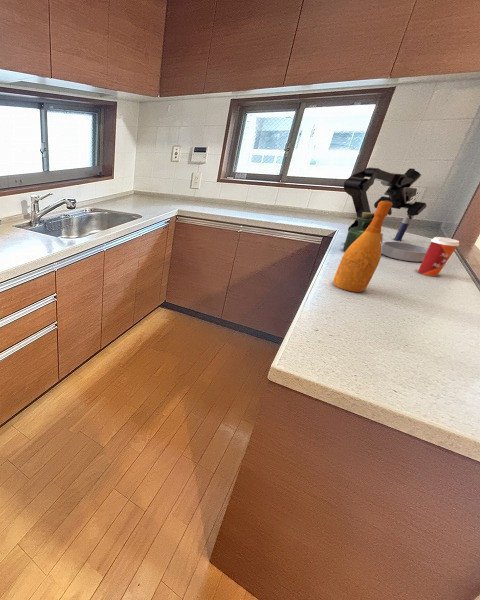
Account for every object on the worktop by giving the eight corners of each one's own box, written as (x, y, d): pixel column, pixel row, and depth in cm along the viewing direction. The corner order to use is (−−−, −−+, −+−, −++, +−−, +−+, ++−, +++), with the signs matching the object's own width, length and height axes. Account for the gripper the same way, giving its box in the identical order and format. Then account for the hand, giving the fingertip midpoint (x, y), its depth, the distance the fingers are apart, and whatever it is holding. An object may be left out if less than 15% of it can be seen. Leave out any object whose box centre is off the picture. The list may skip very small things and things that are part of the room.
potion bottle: (355, 255, 146) (373, 215, 138) (336, 250, 153) (352, 211, 145) (365, 253, 150) (383, 214, 141) (346, 248, 156) (362, 210, 148)
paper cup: (436, 278, 124) (456, 243, 118) (410, 271, 130) (428, 237, 124) (444, 275, 127) (464, 240, 121) (419, 268, 133) (437, 235, 127)
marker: (399, 241, 169) (410, 218, 163) (392, 239, 171) (403, 216, 166) (402, 240, 170) (413, 217, 164) (395, 238, 172) (406, 216, 167)
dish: (414, 264, 138) (420, 254, 135) (371, 253, 150) (375, 243, 148) (431, 259, 144) (437, 249, 142) (388, 248, 157) (393, 239, 155)
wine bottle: (367, 295, 109) (411, 205, 95) (332, 288, 114) (369, 201, 100) (363, 285, 117) (403, 200, 103) (330, 279, 121) (364, 196, 107)
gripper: (435, 184, 146) (436, 208, 154) (388, 179, 161) (392, 201, 170) (415, 203, 147) (418, 225, 155) (370, 196, 162) (375, 217, 171)
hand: (400, 216), depth 163 cm, fingers open, 9 cm apart
